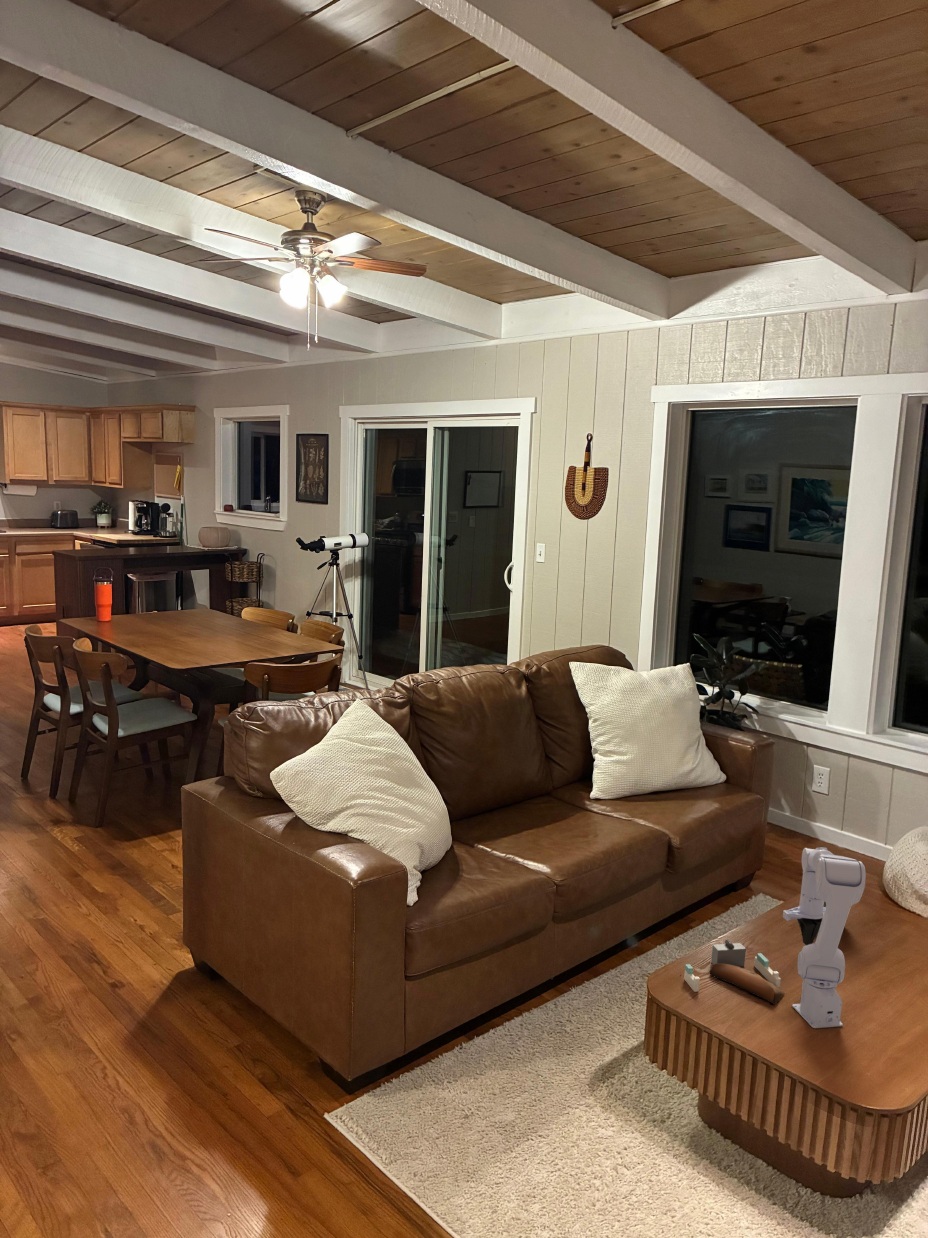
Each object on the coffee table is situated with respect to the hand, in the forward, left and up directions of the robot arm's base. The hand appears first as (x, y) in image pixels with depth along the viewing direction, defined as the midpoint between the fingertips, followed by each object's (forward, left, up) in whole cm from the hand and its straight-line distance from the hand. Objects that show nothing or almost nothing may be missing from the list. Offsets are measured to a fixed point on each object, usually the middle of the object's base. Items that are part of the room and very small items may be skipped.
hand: (807, 944), depth 235 cm
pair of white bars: (+2, +20, -10) cm, 22 cm away
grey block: (+10, +17, -10) cm, 21 cm away
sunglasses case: (0, +16, -11) cm, 19 cm away
